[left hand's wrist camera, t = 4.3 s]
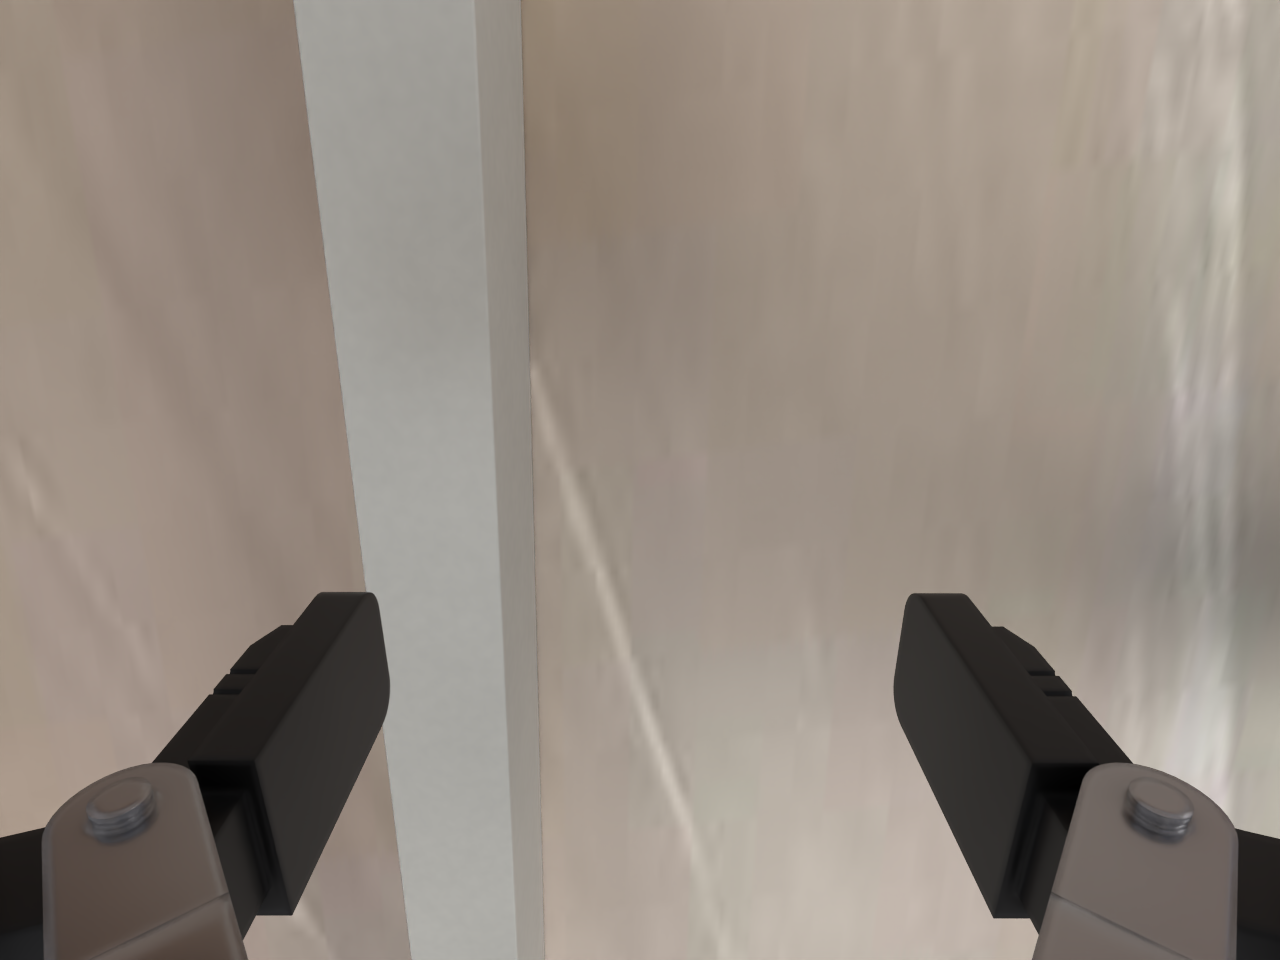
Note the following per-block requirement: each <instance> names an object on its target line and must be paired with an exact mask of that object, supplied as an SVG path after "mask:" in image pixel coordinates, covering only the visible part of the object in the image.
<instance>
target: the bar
mask: <svg viewBox="0 0 1280 960" xmlns="http://www.w3.org/2000/svg"><path fill="white" fill-rule="evenodd" d="M293 3H294V11H295V19H296V28H297V36H298V44H299V52H300V60H301V68H302V76H303V84H304V92H305V101H306V109H307V117H308V125H309V133H310V141H311V149H312V157H313V166H314V174H315V182H316V190H317V198H318V206H319V214H320V222H321V230H322V239H323V247H324V255H325V263H326V271H327V279H328V287H329V295H330V303H331V312H332V320H333V328H334V336H335V344H336V352H337V360H338V368H339V376H340V385H341V393H342V401H343V409H344V417H345V425H346V433H347V441H348V450H349V458H350V466H351V474H352V482H353V490H354V498H355V506H356V514H357V523H358V531H359V539H360V547H361V555H362V563H363V571H364V579H365V587H366V592H371V593H373V594H374V595H375V596H376V598H377V601H378V604H379V609H380V616H381V623H382V629H383V636H384V643H385V649H386V656H387V663H388V669H389V676H390V699H389V705H388V710H387V714H386V717H385V720H384V723H383V734H384V742H385V750H386V758H387V766H388V774H389V782H390V790H391V798H392V807H393V815H394V823H395V831H396V839H397V847H398V855H399V863H400V871H401V880H402V888H403V896H404V904H405V912H406V920H407V928H408V936H409V944H410V953H411V960H545V951H544V911H543V870H542V830H541V790H540V750H539V710H538V670H537V630H536V590H535V550H534V510H533V470H532V430H531V390H530V349H529V309H528V269H527V229H526V189H525V149H524V109H523V69H522V29H521V0H293Z"/></svg>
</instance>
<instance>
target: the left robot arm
mask: <svg viewBox="0 0 1280 960" xmlns="http://www.w3.org/2000/svg"><path fill="white" fill-rule="evenodd" d="M389 699H390V676H389V669H388V663H387V656H386V649H385V643H384V636H383V629H382V623H381V616H380V609H379V604H378V601H377V598H376V596H375V595H374V594H373V593H371V592H321V593H319V594H318V595H317V596H316V597H315V598H314V599H313V600H312V602H311V603H310V604H309V606H308V607H307V608H306V609H305V611H304V612H303V613H302V614H301V616H300V617H299V618H298V620H297V621H296V622H295V623H294V625H281V626H280V627H278V628H277V629H275V630H274V631H272V632H270V633H269V634H267V635H266V636H264V637H263V638H261V639H260V640H258V641H257V642H255V643H254V644H252V645H251V646H250V647H249V648H248V649H247V650H246V651H245V653H244V654H243V655H242V656H241V657H240V659H239V660H238V661H237V662H236V663H235V664H234V666H233V667H232V668H231V669H230V674H226V675H225V676H224V678H223V679H222V680H221V681H220V682H219V684H218V685H217V686H216V687H215V688H214V693H213V695H208V697H207V698H206V699H205V700H204V701H203V703H202V704H201V705H200V706H199V707H198V709H197V710H196V711H195V712H194V713H193V715H192V716H191V717H190V718H189V719H188V720H187V722H186V723H185V724H184V725H183V726H182V728H181V729H180V730H179V731H178V732H177V734H176V735H175V736H174V737H173V738H172V740H171V741H170V742H169V743H168V744H167V745H166V747H165V748H164V749H163V750H162V751H161V753H160V754H159V755H158V756H157V757H156V759H155V760H154V761H153V762H152V763H150V764H143V765H138V766H134V767H130V768H127V769H124V770H121V771H118V772H115V773H113V774H111V775H108V776H106V777H104V778H102V779H100V780H98V781H96V782H94V783H92V784H90V785H89V786H87V787H86V788H84V789H82V790H81V791H79V792H78V793H77V794H75V795H74V796H73V797H71V798H70V799H69V800H68V801H67V802H66V803H64V804H63V805H62V806H61V807H60V808H59V809H58V810H57V812H56V813H55V814H54V815H53V816H52V818H51V819H50V821H49V822H48V824H47V825H46V827H45V828H41V829H36V830H32V831H28V832H23V833H19V834H15V835H10V836H6V837H2V838H0V960H248V958H247V954H246V951H245V947H244V943H243V939H244V937H245V935H246V933H247V932H248V930H249V928H250V926H251V924H252V922H253V920H254V918H255V916H256V915H293V912H294V910H295V908H296V906H297V904H298V902H299V900H300V898H301V896H302V893H303V891H304V889H305V887H306V885H307V883H308V881H309V879H310V877H311V874H312V872H313V870H314V868H315V866H316V864H317V862H318V860H319V858H320V855H321V853H322V851H323V849H324V847H325V845H326V843H327V841H328V839H329V837H330V834H331V832H332V830H333V828H334V826H335V824H336V822H337V820H338V818H339V815H340V813H341V811H342V809H343V807H344V805H345V803H346V801H347V799H348V796H349V794H350V792H351V790H352V788H353V786H354V784H355V782H356V780H357V777H358V775H359V773H360V771H361V769H362V767H363V765H364V763H365V761H366V758H367V756H368V754H369V752H370V750H371V748H372V746H373V744H374V742H375V739H376V737H377V735H378V733H379V731H380V729H381V727H382V725H383V723H384V720H385V717H386V714H387V710H388V705H389ZM894 702H895V708H896V712H897V716H898V719H899V722H900V724H901V726H902V729H903V731H904V733H905V735H906V737H907V739H908V741H909V743H910V745H911V747H912V749H913V751H914V754H915V756H916V758H917V760H918V762H919V764H920V766H921V768H922V770H923V772H924V774H925V776H926V779H927V781H928V783H929V785H930V787H931V789H932V791H933V793H934V795H935V797H936V799H937V801H938V804H939V806H940V808H941V810H942V812H943V814H944V816H945V818H946V820H947V822H948V824H949V826H950V829H951V831H952V833H953V835H954V837H955V839H956V841H957V843H958V845H959V847H960V849H961V851H962V854H963V856H964V858H965V860H966V862H967V864H968V866H969V868H970V870H971V872H972V874H973V876H974V879H975V881H976V883H977V885H978V887H979V889H980V891H981V893H982V895H983V897H984V899H985V901H986V904H987V906H988V908H989V910H990V912H991V914H992V916H993V918H1030V919H1031V921H1032V923H1033V925H1034V927H1035V928H1036V930H1037V932H1038V934H1039V936H1038V940H1037V943H1036V947H1035V951H1034V954H1033V958H1032V960H1280V839H1277V838H1273V837H1269V836H1264V835H1260V834H1256V833H1251V832H1247V831H1243V830H1239V829H1236V828H1234V825H1233V824H1232V822H1231V821H1230V819H1229V818H1228V816H1227V815H1226V814H1225V813H1224V812H1223V810H1222V809H1221V808H1220V807H1219V806H1218V805H1217V804H1216V803H1214V802H1213V801H1212V800H1211V799H1210V798H1209V797H1207V796H1206V795H1205V794H1203V793H1202V792H1201V791H1199V790H1198V789H1196V788H1194V787H1193V786H1191V785H1190V784H1188V783H1186V782H1184V781H1182V780H1180V779H1178V778H1176V777H1174V776H1172V775H1169V774H1167V773H1165V772H1162V771H1159V770H1156V769H1153V768H1150V767H1146V766H1142V765H1137V764H1133V763H1132V762H1131V760H1130V759H1129V758H1128V757H1127V756H1126V755H1125V753H1124V752H1123V751H1122V750H1121V749H1120V747H1119V746H1118V745H1117V744H1116V743H1115V742H1114V740H1113V739H1112V738H1111V737H1110V736H1109V735H1108V733H1107V732H1106V731H1105V730H1104V729H1103V727H1102V726H1101V725H1100V724H1099V723H1098V722H1097V720H1096V719H1095V718H1094V717H1093V716H1092V714H1091V713H1090V712H1089V711H1088V710H1087V709H1086V707H1085V706H1084V705H1083V704H1082V703H1081V701H1080V700H1079V699H1078V698H1077V697H1076V696H1072V691H1071V690H1070V688H1069V687H1068V686H1067V685H1066V684H1065V683H1064V681H1063V680H1062V679H1061V678H1060V677H1059V676H1055V671H1054V670H1053V668H1052V667H1051V666H1050V665H1049V664H1048V663H1047V661H1046V660H1045V659H1044V658H1043V657H1042V655H1041V654H1040V653H1039V652H1038V651H1037V650H1036V648H1035V647H1033V646H1032V645H1030V644H1029V643H1027V642H1026V641H1024V640H1023V639H1021V638H1020V637H1018V636H1017V635H1015V634H1013V633H1012V632H1010V631H1009V630H1007V629H1006V628H1004V627H992V626H991V625H990V624H989V623H988V621H987V620H986V619H985V618H984V616H983V615H982V614H981V613H980V611H979V610H978V609H977V607H976V606H975V605H974V604H973V602H972V601H971V600H970V599H969V598H968V596H966V595H965V594H962V593H914V594H911V595H910V596H909V598H908V600H907V602H906V605H905V610H904V617H903V624H902V630H901V637H900V643H899V650H898V656H897V663H896V670H895V676H894Z"/></svg>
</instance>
